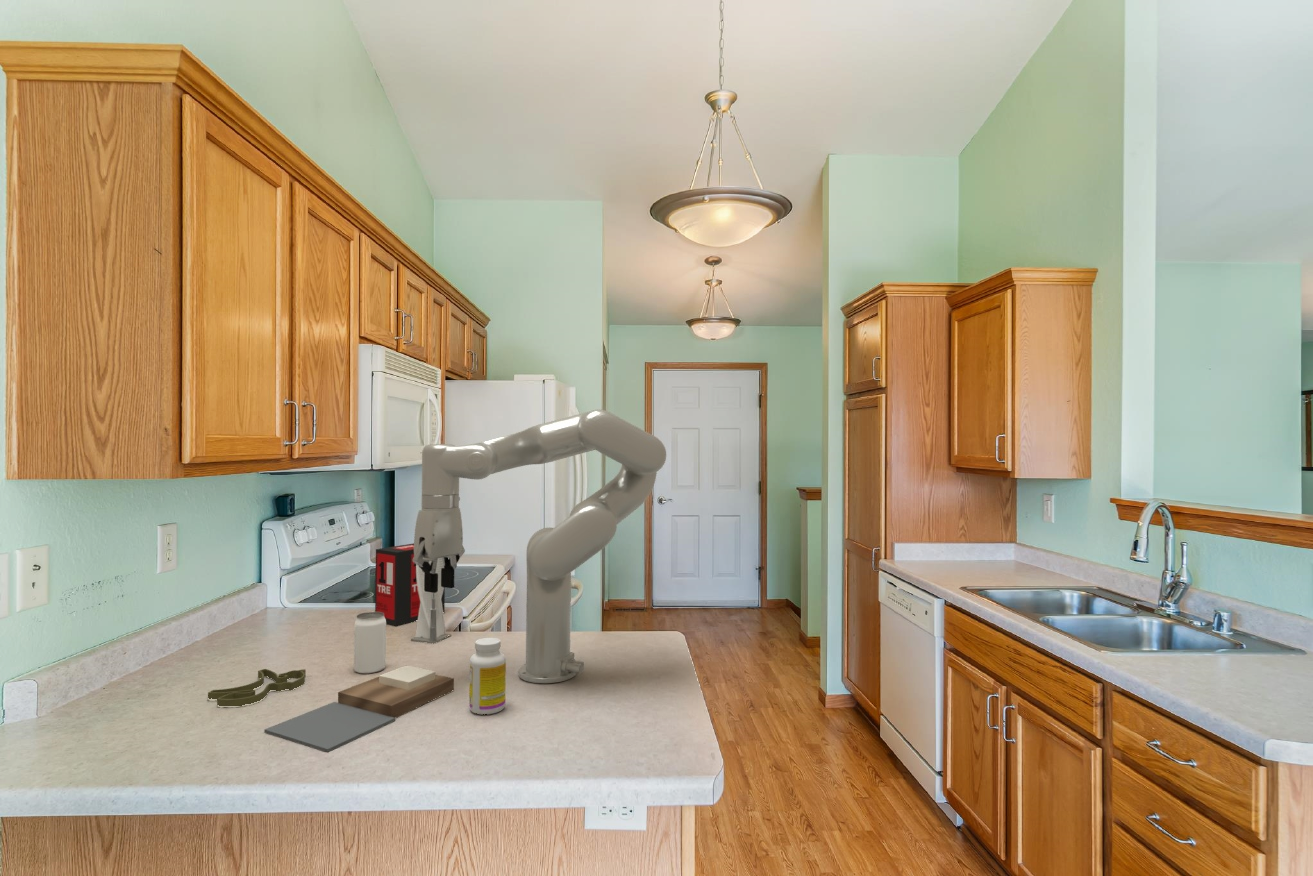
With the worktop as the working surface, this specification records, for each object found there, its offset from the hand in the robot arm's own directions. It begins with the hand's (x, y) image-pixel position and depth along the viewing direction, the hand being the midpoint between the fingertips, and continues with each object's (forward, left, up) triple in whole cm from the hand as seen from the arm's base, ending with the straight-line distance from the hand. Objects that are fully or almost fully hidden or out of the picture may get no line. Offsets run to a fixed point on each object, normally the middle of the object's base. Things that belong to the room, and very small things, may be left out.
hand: (439, 588), depth 144 cm
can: (+18, +2, -20) cm, 27 cm away
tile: (0, +9, -17) cm, 19 cm away
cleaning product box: (+43, -34, -20) cm, 58 cm away
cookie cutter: (+27, +21, -20) cm, 40 cm away
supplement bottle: (-19, +7, -20) cm, 28 cm away
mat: (0, +26, -19) cm, 32 cm away
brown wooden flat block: (0, +11, -19) cm, 22 cm away
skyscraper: (+24, -22, -20) cm, 38 cm away
